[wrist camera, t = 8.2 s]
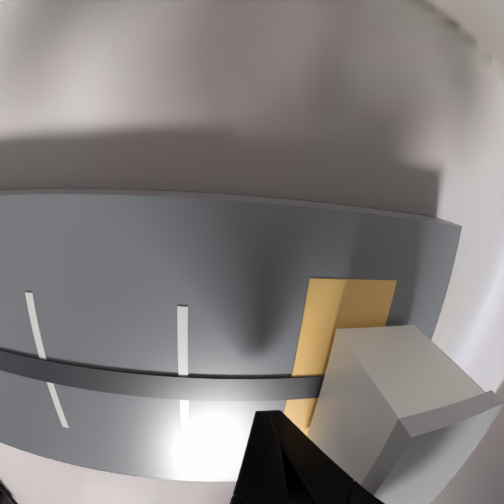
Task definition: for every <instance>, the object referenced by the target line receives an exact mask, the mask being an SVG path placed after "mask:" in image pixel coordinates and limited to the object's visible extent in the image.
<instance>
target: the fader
mask: <svg viewBox="0 0 504 504" xmlns="http://www.w3.org/2000/svg"><path fill="white" fill-rule="evenodd" d="M503 404H504V402H503V401H501V399H500V398H499V397H498V396H497V395H496V394H495V393H494V392H492V391H488V392H485V391H484V390H483V389H482V388H481V387H480V386H479V385H478V384H477V383H476V382H475V381H474V380H473V379H472V378H471V377H469V376H468V375H467V374H466V373H465V372H464V371H463V370H462V369H461V368H460V367H459V366H458V365H457V364H456V363H455V362H454V361H453V360H452V359H451V358H450V357H448V356H447V355H446V354H445V353H444V352H443V351H442V350H441V349H440V348H439V347H438V346H437V345H436V344H434V343H433V342H432V341H431V340H430V339H429V338H428V337H427V336H426V335H425V334H424V333H422V332H421V331H420V330H419V329H418V328H417V327H416V326H415V325H402V326H386V327H368V328H344V329H336V332H335V337H334V341H333V345H332V349H331V353H330V357H329V361H328V365H327V369H326V372H325V376H324V380H323V383H322V387H321V391H320V394H319V398H318V401H317V404H316V408H315V411H314V415H313V418H312V421H311V424H310V427H309V431H308V434H307V437H308V438H309V439H310V440H311V441H313V442H314V443H315V444H316V445H317V446H318V447H319V448H320V449H321V450H322V451H323V452H324V453H325V454H326V455H327V456H328V457H330V458H331V459H332V460H333V461H334V462H335V463H336V464H337V465H338V466H339V467H341V468H342V469H343V470H344V471H345V472H346V473H347V474H348V475H350V476H351V477H352V478H353V479H354V480H353V481H357V482H358V483H359V484H360V485H361V486H362V487H363V488H365V489H366V490H367V491H369V492H370V493H371V494H372V495H374V496H375V497H376V498H378V499H379V500H381V501H382V502H384V503H385V504H430V503H431V502H432V501H433V500H434V498H435V497H436V496H437V495H438V494H439V493H440V492H441V491H442V489H443V488H444V487H445V486H446V485H447V484H448V482H449V481H450V480H451V478H453V476H454V475H455V474H456V473H457V471H458V470H459V469H460V468H461V466H462V465H463V464H464V463H465V461H466V460H467V459H468V457H469V456H470V454H471V453H472V452H473V450H474V449H475V448H476V446H477V445H478V443H479V442H480V440H481V439H482V438H483V436H484V434H485V433H486V431H487V430H488V428H489V427H490V425H491V424H492V422H493V421H494V419H495V417H496V416H497V414H498V413H499V411H500V409H501V407H502V406H503Z"/></svg>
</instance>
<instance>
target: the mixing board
mask: <svg viewBox="0 0 504 504" xmlns="http://www.w3.org/2000/svg"><path fill="white" fill-rule="evenodd" d="M461 228H462V226H460V225H457V224H454V223H451V222H448V221H445V220H442V219H439V218H436V217H430V216H423V215H417V214H410V213H403V212H396V211H389V210H381V209H374V208H366V207H358V206H349V205H341V204H332V203H323V202H313V201H303V200H293V199H282V198H271V197H259V196H246V195H233V194H218V193H202V192H183V191H161V190H133V189H11V190H0V442H1V443H4V444H6V445H9V446H12V447H15V448H17V449H20V450H23V451H26V452H29V453H32V454H36V455H39V456H42V457H46V458H49V459H53V460H56V461H60V462H64V463H68V464H72V465H76V466H81V467H85V468H90V469H95V470H100V471H106V472H111V473H117V474H124V475H131V476H138V477H147V478H157V479H168V480H183V481H237V478H238V475H239V471H240V468H241V464H242V460H243V457H244V453H245V449H246V445H247V442H248V438H249V434H250V430H251V427H252V423H253V419H254V415H255V412H256V411H269V410H280V411H282V412H283V413H284V414H285V415H286V416H287V417H288V418H289V419H290V420H291V421H292V422H293V423H294V424H295V425H296V426H297V427H298V428H299V429H300V430H301V431H302V432H303V433H304V434H305V435H306V436H307V434H308V431H309V427H310V424H311V421H312V418H313V415H314V411H315V408H316V404H317V401H318V398H319V394H320V391H321V387H322V383H323V380H324V376H325V372H326V369H327V365H328V361H329V357H330V353H331V349H332V345H333V341H334V337H335V332H336V329H344V328H368V327H386V326H402V325H415V326H416V327H417V328H418V329H419V330H420V331H421V332H422V333H424V334H425V335H426V336H427V337H428V338H429V339H430V340H431V339H432V336H433V333H434V330H435V327H436V324H437V321H438V318H439V315H440V312H441V309H442V305H443V302H444V299H445V295H446V292H447V288H448V285H449V281H450V277H451V273H452V269H453V265H454V261H455V257H456V252H457V248H458V243H459V238H460V233H461Z"/></svg>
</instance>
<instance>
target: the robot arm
mask: <svg viewBox="0 0 504 504" xmlns="http://www.w3.org/2000/svg"><path fill="white" fill-rule="evenodd" d="M353 480H354V479H353V478H352V477H351V476H350V475H348V474H347V473H346V472H345V471H344V470H343V469H342V468H341V467H339V466H338V465H337V464H336V463H335V462H334V461H333V460H332V459H331V458H330V457H328V456H327V455H326V454H325V453H324V452H323V451H322V450H321V449H320V448H319V447H318V446H317V445H316V444H315V443H314V442H313V441H311V440H310V439H309V438H308V437H307V436H306V435H305V434H304V433H303V432H302V431H301V430H300V429H299V428H298V427H297V426H296V425H295V424H294V423H293V422H292V421H291V420H290V419H289V418H288V417H287V416H286V415H285V414H284V413H283V412H282V411H280V410H269V411H256V412H255V415H254V419H253V423H252V427H251V430H250V434H249V438H248V442H247V445H246V449H245V453H244V457H243V460H242V464H241V468H240V471H239V475H238V478H237V482H236V485H235V489H234V492H233V496H232V499H231V502H230V504H385V503H384V502H382V501H381V500H379V499H378V498H376V497H375V496H374V495H372V494H371V493H370V492H369V491H367V490H366V489H365V488H363V487H362V486H361V485H360V484H359V483H358V482H357V481H353ZM0 504H15V502H14V501H13V500H12V499H11V498H10V497H9V495H8V494H7V493H6V492H5V491H4V489H3V488H2V487H1V486H0Z"/></svg>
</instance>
